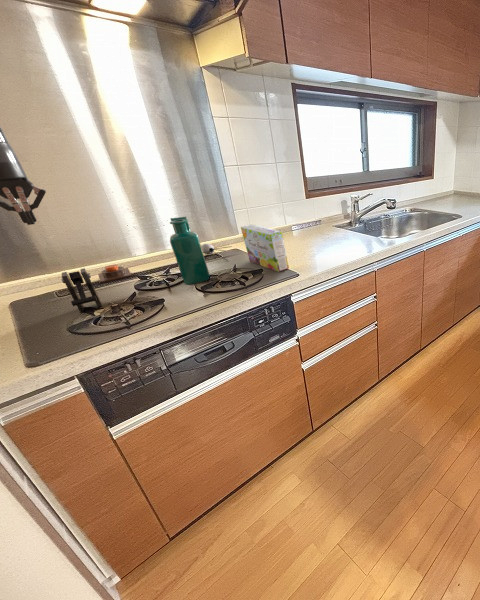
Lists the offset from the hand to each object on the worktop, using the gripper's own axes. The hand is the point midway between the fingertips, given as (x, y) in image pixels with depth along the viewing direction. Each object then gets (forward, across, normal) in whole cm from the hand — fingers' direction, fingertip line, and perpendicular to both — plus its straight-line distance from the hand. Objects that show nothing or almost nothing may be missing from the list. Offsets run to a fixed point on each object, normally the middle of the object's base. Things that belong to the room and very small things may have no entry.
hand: (31, 224), depth 96 cm
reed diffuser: (+24, -47, -10) cm, 54 cm away
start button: (+21, -13, -10) cm, 27 cm away
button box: (+24, -13, -10) cm, 30 cm away
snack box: (+24, -60, +17) cm, 67 cm away
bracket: (+25, -5, +18) cm, 31 cm away
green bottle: (+25, -35, +12) cm, 45 cm away
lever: (+17, -5, +22) cm, 28 cm away
